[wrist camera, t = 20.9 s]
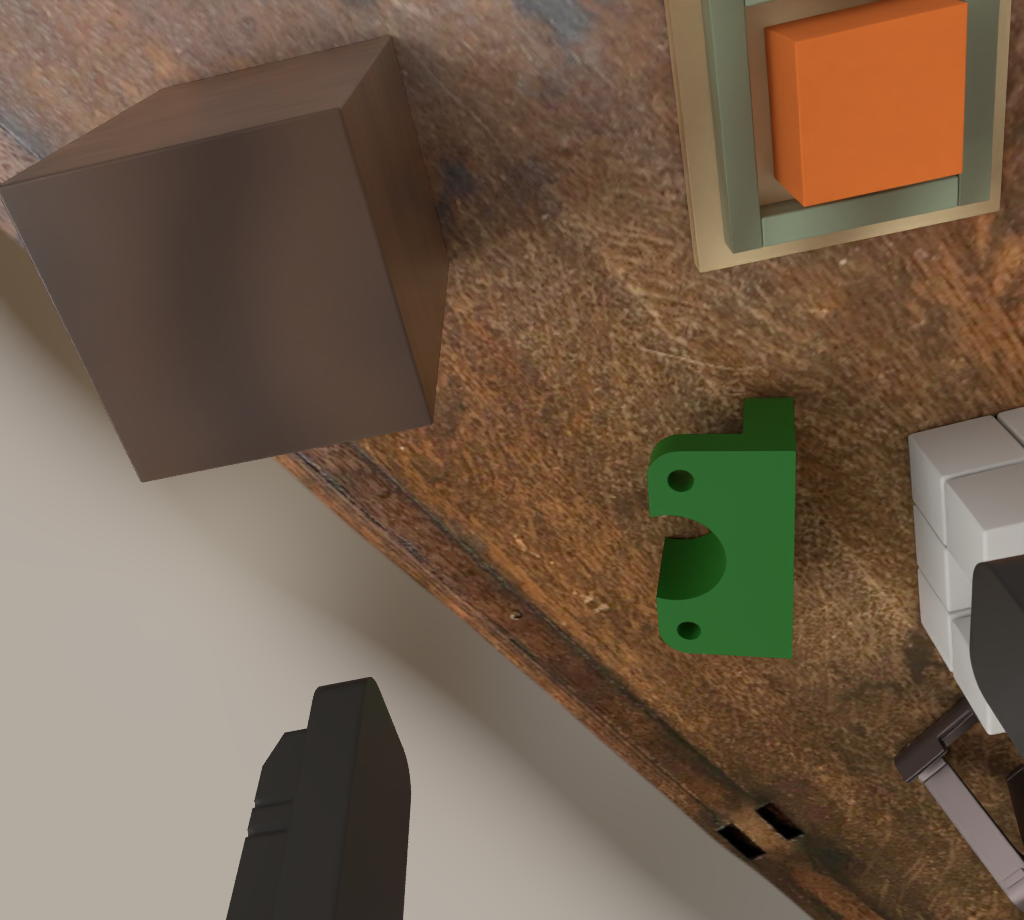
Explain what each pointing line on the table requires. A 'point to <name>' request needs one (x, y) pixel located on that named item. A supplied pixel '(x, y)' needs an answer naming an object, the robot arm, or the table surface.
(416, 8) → the table surface
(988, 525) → the gray cube puzzle piece
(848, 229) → the square tray
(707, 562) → the clamp
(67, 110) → the table surface
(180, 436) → the stand
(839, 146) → the orange square block
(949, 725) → the tablet stand
